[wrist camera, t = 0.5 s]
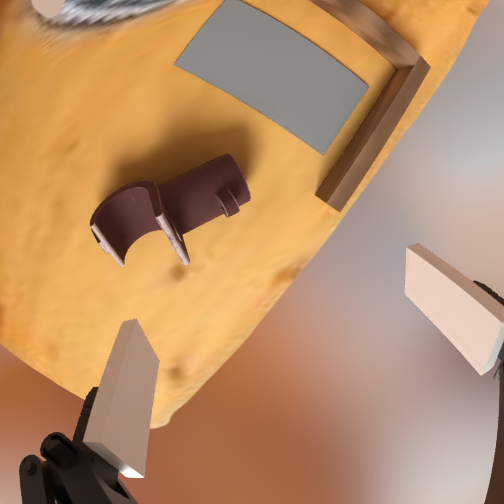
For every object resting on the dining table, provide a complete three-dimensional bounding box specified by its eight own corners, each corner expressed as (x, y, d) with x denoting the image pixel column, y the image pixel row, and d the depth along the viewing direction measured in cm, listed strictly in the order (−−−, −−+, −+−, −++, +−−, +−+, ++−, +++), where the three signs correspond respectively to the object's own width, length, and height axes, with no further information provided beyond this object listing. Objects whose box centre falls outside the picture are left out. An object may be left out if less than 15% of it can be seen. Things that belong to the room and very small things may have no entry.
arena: (152, 98, 27) (144, 93, 24) (263, -38, 21) (268, -53, 17) (327, 203, 34) (339, 212, 31) (412, 70, 28) (430, 66, 25)
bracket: (81, 208, 28) (76, 264, 21) (213, 138, 31) (251, 171, 24) (107, 245, 33) (113, 304, 26) (228, 181, 35) (266, 224, 28)
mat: (174, 65, 26) (174, 64, 26) (229, -4, 23) (229, -5, 23) (322, 155, 32) (323, 155, 32) (367, 87, 29) (368, 86, 29)
